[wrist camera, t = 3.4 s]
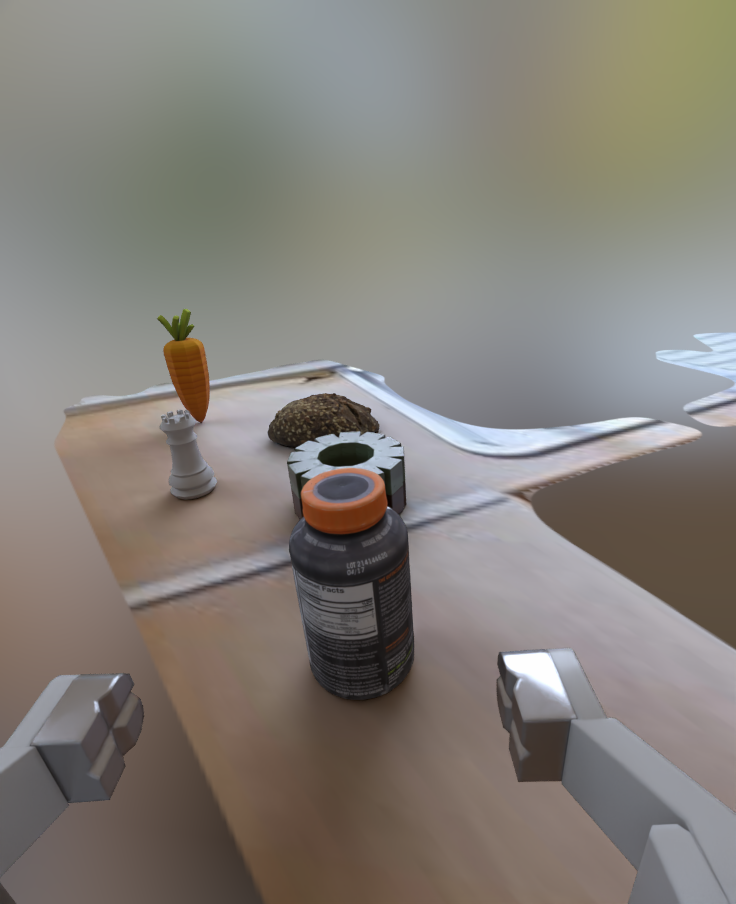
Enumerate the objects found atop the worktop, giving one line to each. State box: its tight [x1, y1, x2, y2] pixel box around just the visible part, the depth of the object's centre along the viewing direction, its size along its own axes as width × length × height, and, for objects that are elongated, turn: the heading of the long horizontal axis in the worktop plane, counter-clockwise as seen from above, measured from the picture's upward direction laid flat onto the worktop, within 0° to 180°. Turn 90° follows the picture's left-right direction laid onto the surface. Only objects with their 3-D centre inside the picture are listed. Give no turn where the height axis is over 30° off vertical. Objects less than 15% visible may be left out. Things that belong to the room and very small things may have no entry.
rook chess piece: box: [160, 410, 217, 499], centre depth 45 cm, size 4×4×8 cm
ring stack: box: [287, 431, 406, 520], centre depth 42 cm, size 10×10×5 cm
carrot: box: [157, 309, 209, 423], centre depth 62 cm, size 5×5×15 cm
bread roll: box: [268, 393, 379, 447], centre depth 58 cm, size 13×12×5 cm
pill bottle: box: [289, 468, 414, 700], centre depth 24 cm, size 6×6×11 cm
